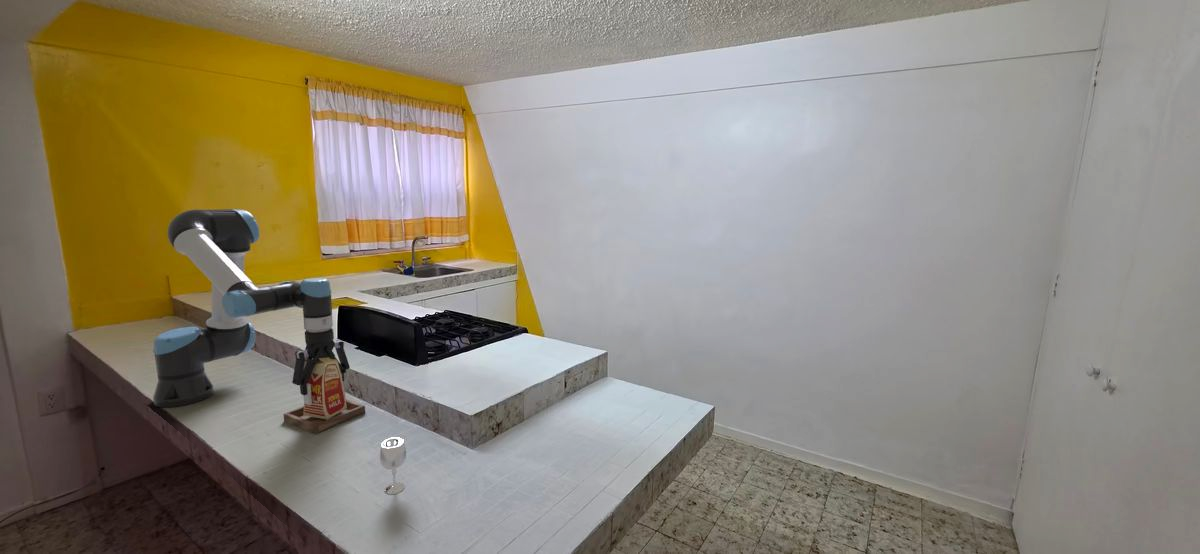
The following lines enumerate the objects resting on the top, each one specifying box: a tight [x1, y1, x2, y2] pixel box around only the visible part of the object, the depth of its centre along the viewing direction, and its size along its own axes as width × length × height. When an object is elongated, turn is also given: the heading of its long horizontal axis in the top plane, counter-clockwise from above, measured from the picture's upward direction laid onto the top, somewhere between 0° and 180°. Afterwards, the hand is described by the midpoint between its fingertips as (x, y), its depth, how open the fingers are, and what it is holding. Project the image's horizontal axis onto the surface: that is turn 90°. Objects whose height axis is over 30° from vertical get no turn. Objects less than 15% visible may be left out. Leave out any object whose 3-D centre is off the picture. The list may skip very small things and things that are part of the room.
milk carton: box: [303, 357, 347, 420], centre depth 142 cm, size 9×9×20 cm
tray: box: [282, 398, 366, 435], centre depth 144 cm, size 16×16×2 cm
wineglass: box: [379, 437, 407, 495], centre depth 109 cm, size 6×6×12 cm
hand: (324, 397), depth 143 cm, fingers closed on milk carton, 9 cm apart
